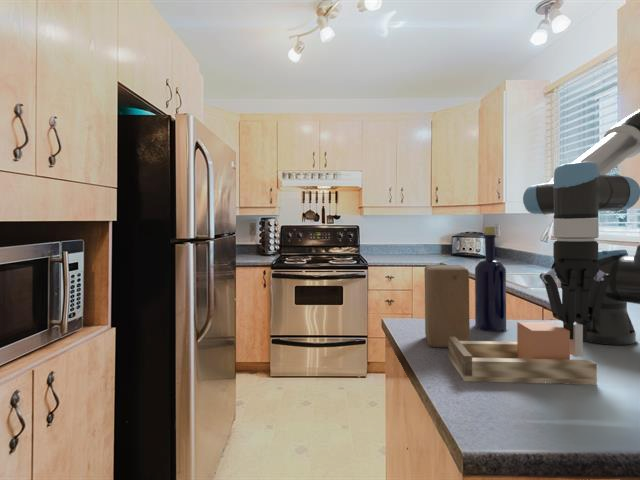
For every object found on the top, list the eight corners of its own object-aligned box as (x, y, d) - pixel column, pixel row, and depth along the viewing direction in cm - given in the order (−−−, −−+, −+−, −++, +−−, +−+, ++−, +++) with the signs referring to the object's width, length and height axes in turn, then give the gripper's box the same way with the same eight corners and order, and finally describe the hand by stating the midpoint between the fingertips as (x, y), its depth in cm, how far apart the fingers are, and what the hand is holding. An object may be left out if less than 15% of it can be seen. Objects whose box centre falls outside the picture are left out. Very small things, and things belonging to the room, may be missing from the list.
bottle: (514, 331, 104) (513, 226, 103) (481, 332, 104) (480, 227, 103) (498, 323, 113) (498, 226, 112) (468, 323, 114) (467, 227, 113)
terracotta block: (551, 358, 79) (551, 322, 79) (569, 371, 72) (569, 331, 72) (517, 358, 80) (517, 321, 80) (532, 370, 73) (532, 330, 73)
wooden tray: (559, 359, 82) (559, 337, 82) (596, 384, 69) (596, 358, 69) (448, 357, 85) (448, 336, 84) (464, 381, 72) (464, 356, 72)
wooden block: (470, 349, 90) (469, 268, 89) (428, 347, 92) (427, 268, 91) (463, 337, 100) (462, 264, 99) (425, 336, 102) (424, 264, 101)
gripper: (597, 238, 78) (597, 349, 78) (532, 239, 79) (532, 348, 80) (623, 240, 70) (622, 361, 71) (550, 240, 72) (550, 360, 72)
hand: (574, 354), depth 75 cm, fingers closed
